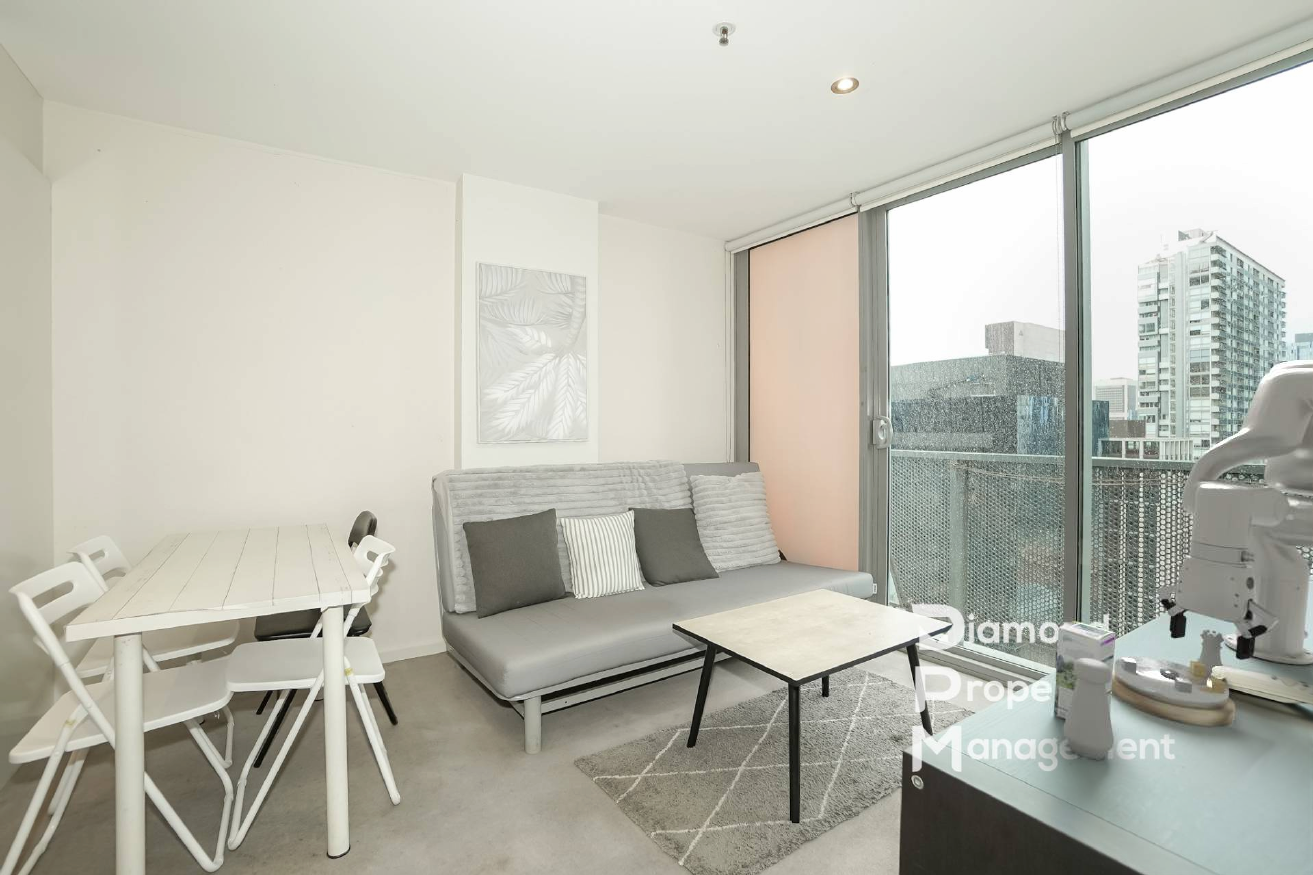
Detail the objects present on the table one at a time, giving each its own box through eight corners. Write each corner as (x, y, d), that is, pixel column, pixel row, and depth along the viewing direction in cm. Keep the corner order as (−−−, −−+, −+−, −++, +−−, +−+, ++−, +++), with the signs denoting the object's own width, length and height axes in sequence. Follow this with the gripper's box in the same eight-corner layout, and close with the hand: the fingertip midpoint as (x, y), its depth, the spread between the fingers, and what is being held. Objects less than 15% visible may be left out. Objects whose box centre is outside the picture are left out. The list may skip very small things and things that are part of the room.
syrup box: (1111, 723, 93) (1117, 631, 92) (1093, 733, 90) (1099, 638, 89) (1069, 706, 98) (1075, 619, 97) (1051, 716, 95) (1057, 626, 94)
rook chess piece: (1217, 672, 111) (1221, 629, 111) (1231, 682, 107) (1235, 638, 107) (1187, 668, 113) (1191, 626, 112) (1200, 678, 109) (1203, 635, 108)
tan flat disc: (1143, 671, 111) (1144, 660, 111) (1256, 715, 96) (1257, 702, 96) (1085, 686, 105) (1086, 674, 105) (1196, 734, 90) (1197, 721, 90)
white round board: (1146, 662, 110) (1148, 643, 109) (1248, 700, 96) (1250, 678, 96) (1094, 675, 104) (1095, 655, 104) (1194, 716, 91) (1196, 693, 91)
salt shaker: (1121, 766, 82) (1128, 673, 81) (1074, 760, 83) (1080, 669, 82) (1099, 742, 88) (1105, 655, 87) (1055, 737, 89) (1060, 651, 88)
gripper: (1294, 565, 102) (1284, 665, 103) (1174, 542, 118) (1166, 628, 119) (1270, 568, 99) (1259, 670, 100) (1150, 543, 115) (1142, 632, 116)
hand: (1209, 647), depth 109 cm, fingers open, 9 cm apart
